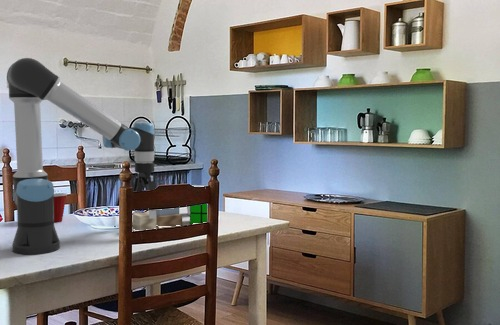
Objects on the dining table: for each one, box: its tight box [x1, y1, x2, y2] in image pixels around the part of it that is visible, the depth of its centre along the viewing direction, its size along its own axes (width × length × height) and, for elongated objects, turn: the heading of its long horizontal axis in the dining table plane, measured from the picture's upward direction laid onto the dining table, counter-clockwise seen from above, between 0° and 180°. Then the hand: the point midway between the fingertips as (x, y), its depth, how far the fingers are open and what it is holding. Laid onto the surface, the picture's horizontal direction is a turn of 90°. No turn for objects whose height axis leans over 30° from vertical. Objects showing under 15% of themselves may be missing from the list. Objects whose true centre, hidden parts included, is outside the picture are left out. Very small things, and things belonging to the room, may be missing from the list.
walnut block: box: [156, 213, 183, 226], centre depth 234 cm, size 10×10×5 cm
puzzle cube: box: [189, 204, 207, 225], centre depth 240 cm, size 10×10×10 cm
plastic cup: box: [54, 192, 68, 224], centre depth 237 cm, size 11×11×12 cm
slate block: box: [156, 207, 180, 216], centre depth 233 cm, size 9×5×4 cm, turn 125°
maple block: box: [132, 211, 157, 230], centre depth 220 cm, size 7×7×7 cm
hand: (145, 215), depth 220 cm, fingers open, 13 cm apart
